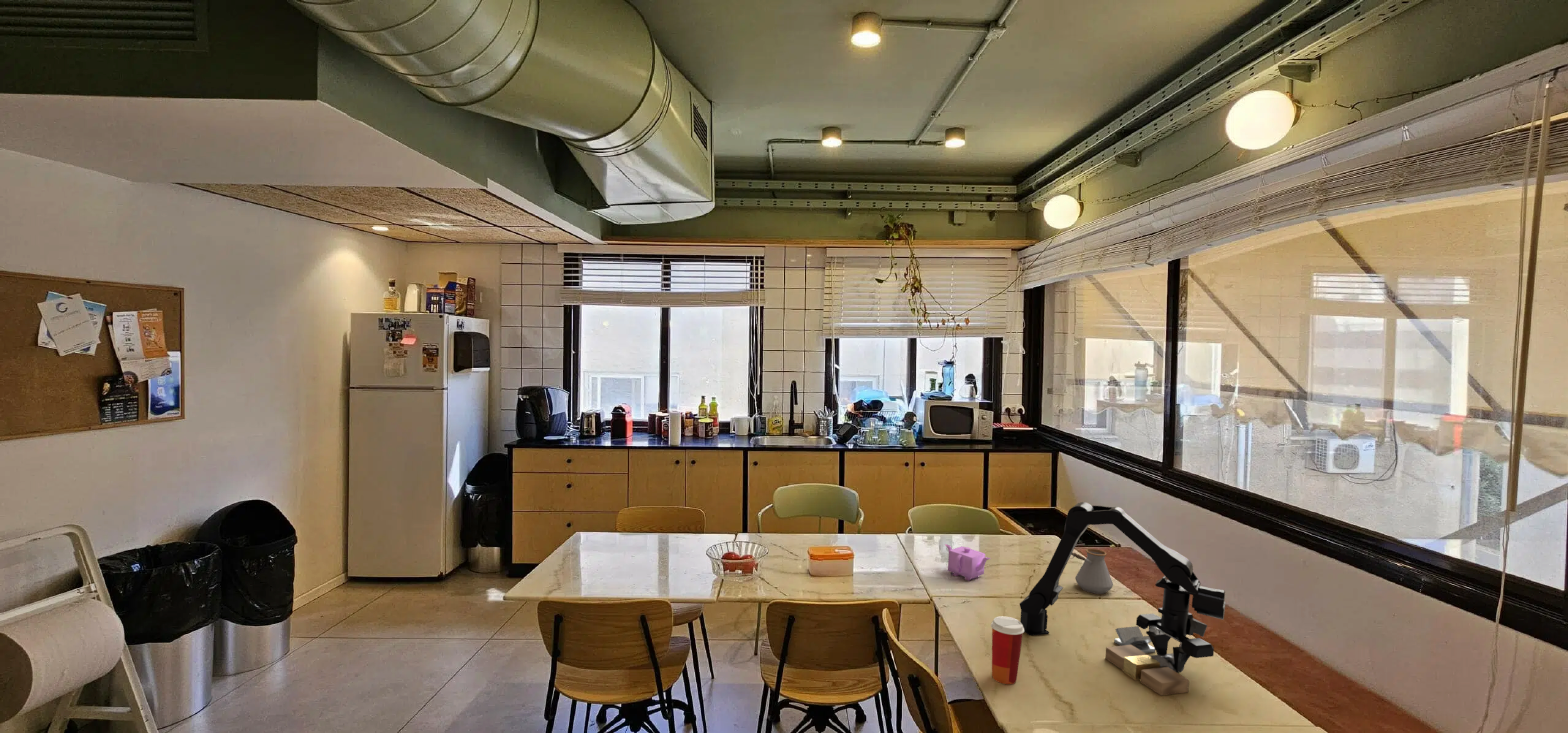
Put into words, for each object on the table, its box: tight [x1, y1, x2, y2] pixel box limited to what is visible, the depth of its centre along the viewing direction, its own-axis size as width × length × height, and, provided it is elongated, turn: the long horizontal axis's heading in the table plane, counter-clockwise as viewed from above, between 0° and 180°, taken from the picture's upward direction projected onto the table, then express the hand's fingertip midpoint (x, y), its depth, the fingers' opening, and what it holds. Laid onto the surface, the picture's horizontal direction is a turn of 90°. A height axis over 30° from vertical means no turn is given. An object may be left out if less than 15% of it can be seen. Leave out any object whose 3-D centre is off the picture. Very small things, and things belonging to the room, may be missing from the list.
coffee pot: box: [1069, 548, 1114, 595], centre depth 221 cm, size 21×12×15 cm, turn 125°
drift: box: [1122, 654, 1160, 681], centre depth 168 cm, size 7×4×4 cm, turn 105°
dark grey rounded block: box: [1149, 652, 1185, 673], centre depth 170 cm, size 7×4×4 cm, turn 106°
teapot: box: [944, 544, 992, 582], centre depth 232 cm, size 18×13×10 cm
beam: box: [1104, 645, 1190, 696], centre depth 168 cm, size 8×18×3 cm, turn 16°
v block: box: [1113, 625, 1156, 654], centre depth 183 cm, size 7×7×4 cm
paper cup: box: [990, 615, 1025, 685], centre depth 163 cm, size 8×8×14 cm
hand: (1170, 667), depth 170 cm, fingers closed on dark grey rounded block, 4 cm apart
